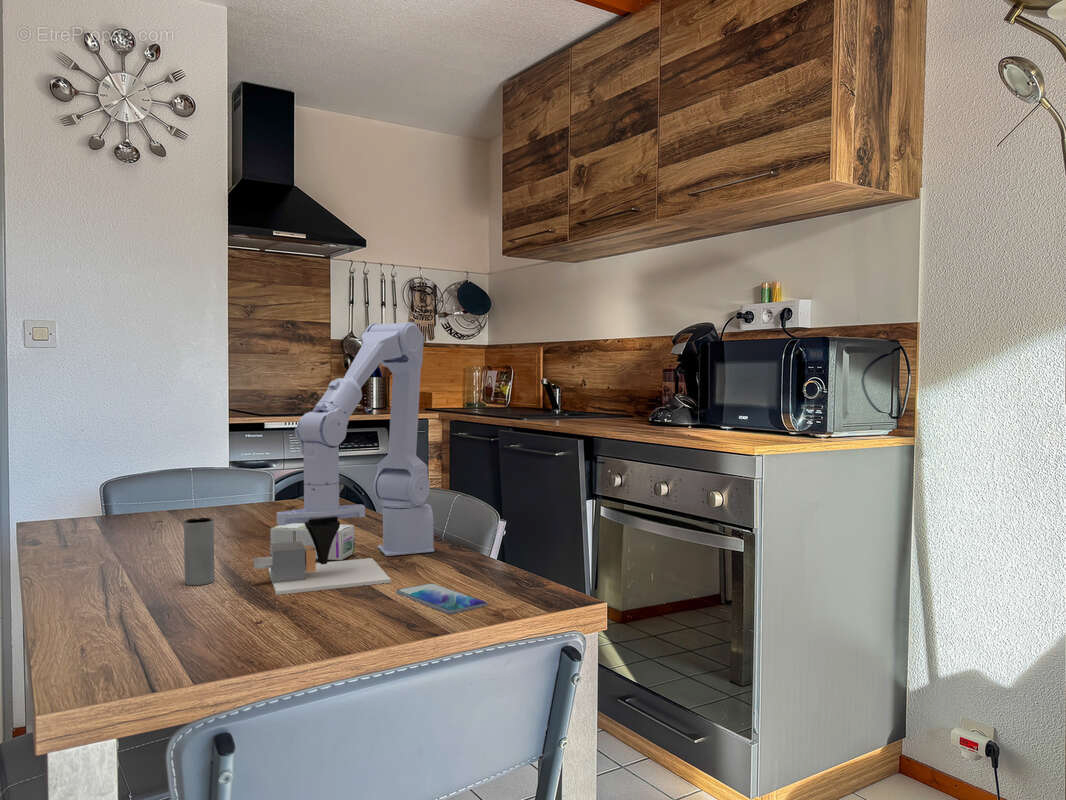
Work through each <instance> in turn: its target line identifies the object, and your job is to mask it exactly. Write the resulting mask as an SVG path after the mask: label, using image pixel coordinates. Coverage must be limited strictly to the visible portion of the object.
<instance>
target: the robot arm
mask: <svg viewBox="0 0 1066 800" xmlns="http://www.w3.org/2000/svg"><path fill="white" fill-rule="evenodd" d="M360 337H361V338H360V342H361V347H360V348H359V350H358V352H357V354H356V355H355V357H354V358H353V360H352V363H351V364H350V366H349V367H348V369H347V371H346V373H345V375H344V377H343V378H342V377H339V378H338V377H337V378H336V379H334V380H331V381H330V383H329V384H328V388H327V389H326V391H325V392H324V393H323V395H322V397H321V398H320V399H319V400H318V402H317V403H316V404H315V406H314V408H313V409H312V411H308V412H306V413H304V414H303V415H302V416H301V417H300V418H299V419H298V422H297V426H296V428H294V434H295V437H296V440H297V441H298V443H299V445H300V453H301V455H302V456H303V499H304V500H303V505H304V506H303V508H298V509H292V510H286V511H277V512H276V525H277V526H278V525H280V526H282V525H286V524H293V523H305V526H306V528H307V530H308V531H309V533H310V535H311V538H312V540H313V543H314V545H315V548H316V552H317V556H318V559H317V560H318V561H317V563H320V564H322V565H323V564H327V562H328V555H329V551H330V548H331V544H332V542H333V539H334V537H335V535H336V533H337V531H338V529H339V527H340V525H341V521H339V519H348V518H356V517H357V518H366V506H365V505H364V504H343V505H340V474H339V473H340V459H339V458H340V454H339V451H340V450H339V449H340V448H339V447H340V446H339V445H341V444H342V443H343V441H344V440H345V439H346V436H347V433H348V432H347V431H348V430H347V428H348V425H349V421H350V417H351V415H352V414H353V412H354V410H355V409H356V408H357V406H358V405H359V403H360V401H361V400H362V398H363V392H362V387H363V386H364V385H365V383H366V382H367V380H368V379H370V377H371V375H372V374H373V373H374V372H375V371H376V369H377V368H378V367H379V365H380V364H381V365H382V366H383V367H386V368H388V370H389V371H390V373H392V385H391V402H390V403H391V404H390V405H391V406H390V417H389V418H390V419H389V435H388V437H389V438H388V450H387V451H388V454H387V455H386V456H385V457H384V458H383V459H382V460H381V461H379V462H378V463H377V471H376V475H375V478H374V480H373V485H372V486H373V487H372V489H373V493H374V497H375V499H376V500H378V501H379V506H382V544H381V545H380V544H378V545H377V548H378V549H379V551H380V552H381V553H382V554H384V556H386V557H392V556H400V555H401V556H402V555H404V556H405V555H412V554H423V553H426V554H427V553H434V552H435V549H434V514H433V509H432V506H431V505H430V504H429V503H425V502H426V500H427V499H428V497H429V493H430V488H431V485H430V480H429V474H428V470H429V468H428V464H426V463H425V462H423V460H422V459H420V457H418V456H417V445H418V444H417V443H418V429H419V428H418V427H419V411H420V409H419V408H420V407H419V406H420V404H419V403H420V394H421V393H420V390H421V374H422V373H421V372H422V371H421V369H422V366H423V358H424V357H423V356H424V344H425V343H424V341H425V340H424V339H425V337H424V334H423V332H422V331H421V330H420V328H419V327H418V325H417V324H416V323H415V322H413V321H407V322H401V323H400V322H398V323H395V322H394V323H370V324H369V325H368V326H367V327H366V328H365V332H363V333H362V335H361V336H360ZM398 469H399V470H398ZM401 470H403V471H401Z"/></svg>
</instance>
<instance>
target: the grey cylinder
mask: <svg viewBox="0 0 1066 800" xmlns="http://www.w3.org/2000/svg"><path fill="white" fill-rule="evenodd" d="M214 521H215V520H214V519H213V518H212V517H194V518H187V519H186V520H184V521H183V547H184V548H183V557H184V565H183V567H184V583H185V585H188V586H203V585H208V584H212V583H214V581H215V526H214V525H215V522H214Z"/></svg>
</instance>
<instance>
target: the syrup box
mask: <svg viewBox="0 0 1066 800" xmlns="http://www.w3.org/2000/svg"><path fill="white" fill-rule="evenodd" d="M355 533H356V532H355V525H353V524H340V527H339V529H338V531H337V533H336V535H335V537H334V539H333V542H332V544H331V548H330V551H329V555H328V560H329V561H333V560H334V561H343V560H344V559H346V558H348V557H349V556H352V555H353V554H355V548H356V547H355V546H356V543H355V542H356V537H355ZM269 535H270V538H269V542H270V544H274V543H286V542H298V541H301V542H302V544H303V546H307V545H313V547H314V548H315V545H314V543H313V540H312V538H311V535H310V533H309V531H308V530H307V528H306V526H305V522H302V523H293V524H286V525H282V526H280V525H278V524H277V525H275V526H273V527H270V534H269ZM270 544H269V545H270ZM315 550H316V548H315ZM316 560H318V556H317V552H316ZM328 560H327V561H328Z"/></svg>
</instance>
